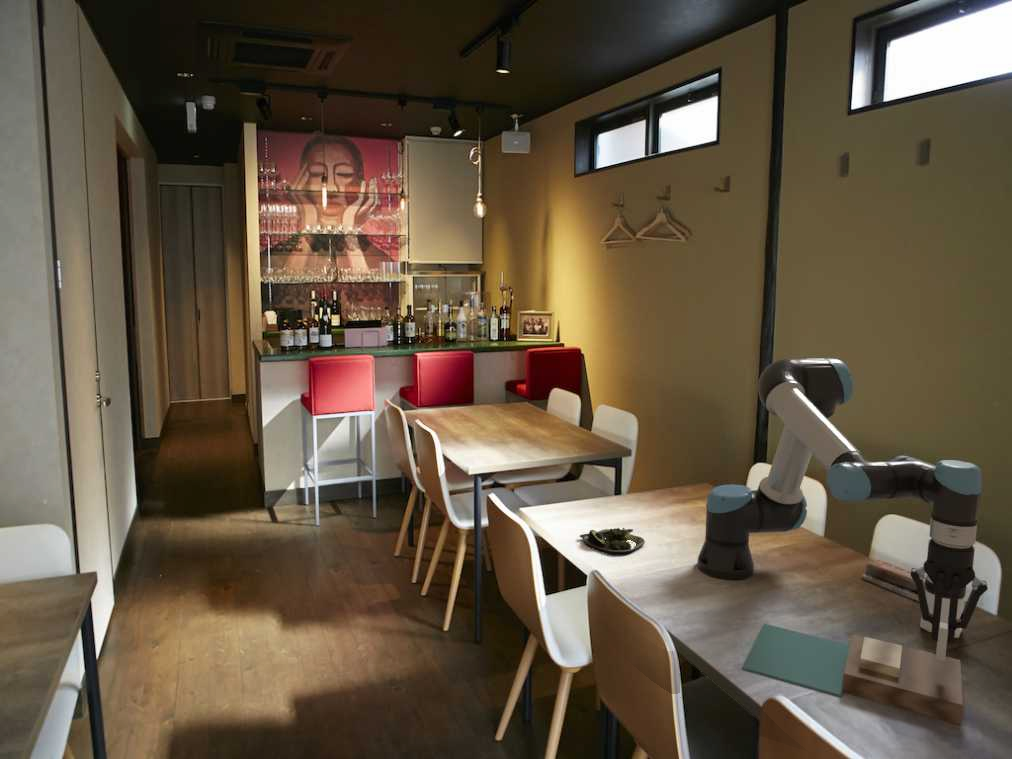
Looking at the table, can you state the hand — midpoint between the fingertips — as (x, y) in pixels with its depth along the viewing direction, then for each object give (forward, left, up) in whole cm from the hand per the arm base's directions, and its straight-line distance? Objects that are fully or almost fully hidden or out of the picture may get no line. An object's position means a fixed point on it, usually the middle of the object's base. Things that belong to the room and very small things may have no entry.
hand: (940, 656), depth 140 cm
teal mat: (-26, 0, -8) cm, 27 cm away
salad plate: (-86, +40, -9) cm, 95 cm away
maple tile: (-10, 0, -4) cm, 11 cm away
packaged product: (-8, +53, -9) cm, 54 cm away
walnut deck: (-6, 0, -8) cm, 10 cm away
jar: (+1, +31, -8) cm, 32 cm away
